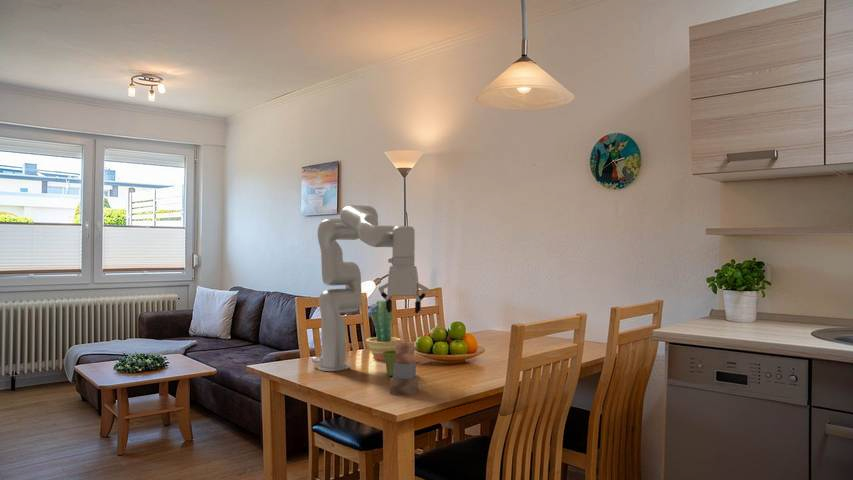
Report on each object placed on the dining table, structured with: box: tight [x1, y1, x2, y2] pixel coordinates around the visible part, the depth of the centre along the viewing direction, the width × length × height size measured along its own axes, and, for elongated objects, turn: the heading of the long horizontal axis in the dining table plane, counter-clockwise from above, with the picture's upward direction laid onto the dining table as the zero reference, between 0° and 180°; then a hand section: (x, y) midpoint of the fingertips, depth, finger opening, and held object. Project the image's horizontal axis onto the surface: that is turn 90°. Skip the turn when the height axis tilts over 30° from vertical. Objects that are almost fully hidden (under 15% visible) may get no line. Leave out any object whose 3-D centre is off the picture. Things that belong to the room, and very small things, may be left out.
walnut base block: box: [389, 374, 419, 396], centre depth 197 cm, size 8×8×5 cm
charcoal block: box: [392, 360, 417, 380], centre depth 197 cm, size 6×6×5 cm
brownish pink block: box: [396, 342, 415, 364], centre depth 198 cm, size 5×5×6 cm
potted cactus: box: [365, 300, 402, 361], centre depth 256 cm, size 15×15×25 cm
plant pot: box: [383, 350, 396, 377], centre depth 222 cm, size 9×9×9 cm
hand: (403, 312), depth 199 cm, fingers open, 9 cm apart
